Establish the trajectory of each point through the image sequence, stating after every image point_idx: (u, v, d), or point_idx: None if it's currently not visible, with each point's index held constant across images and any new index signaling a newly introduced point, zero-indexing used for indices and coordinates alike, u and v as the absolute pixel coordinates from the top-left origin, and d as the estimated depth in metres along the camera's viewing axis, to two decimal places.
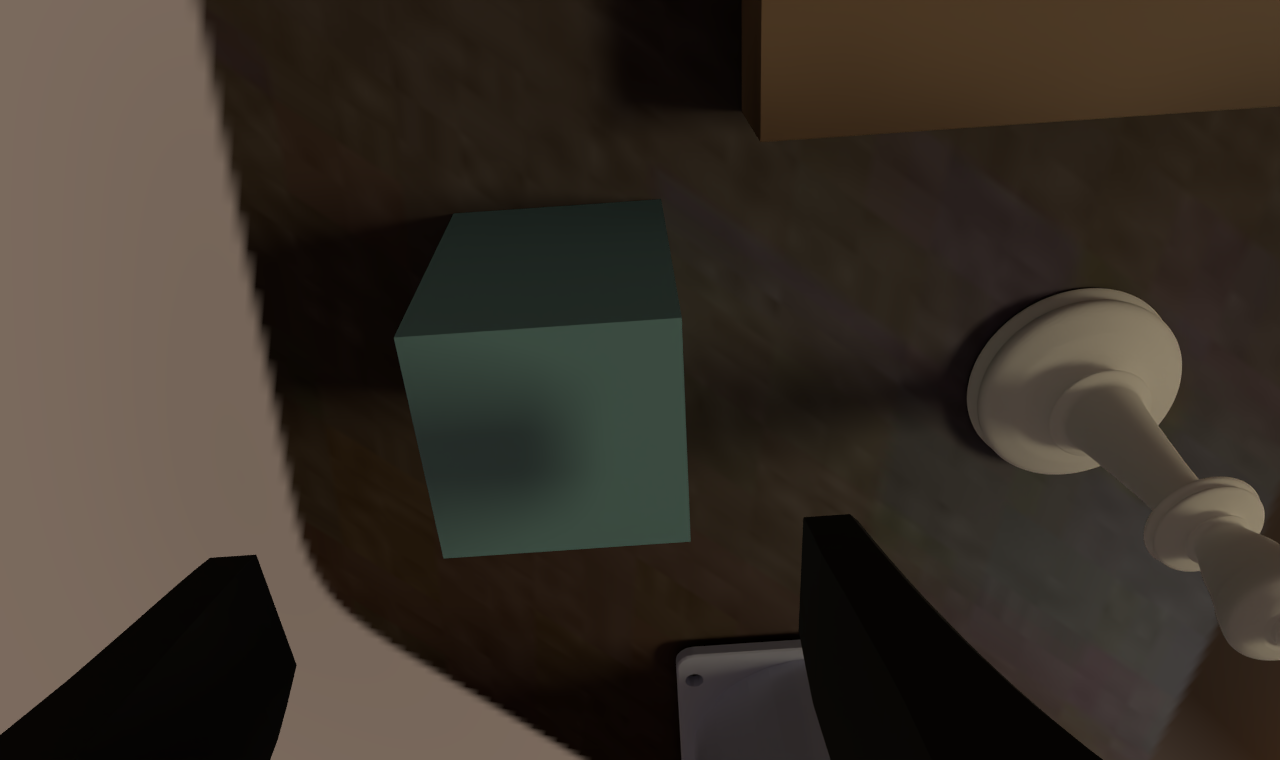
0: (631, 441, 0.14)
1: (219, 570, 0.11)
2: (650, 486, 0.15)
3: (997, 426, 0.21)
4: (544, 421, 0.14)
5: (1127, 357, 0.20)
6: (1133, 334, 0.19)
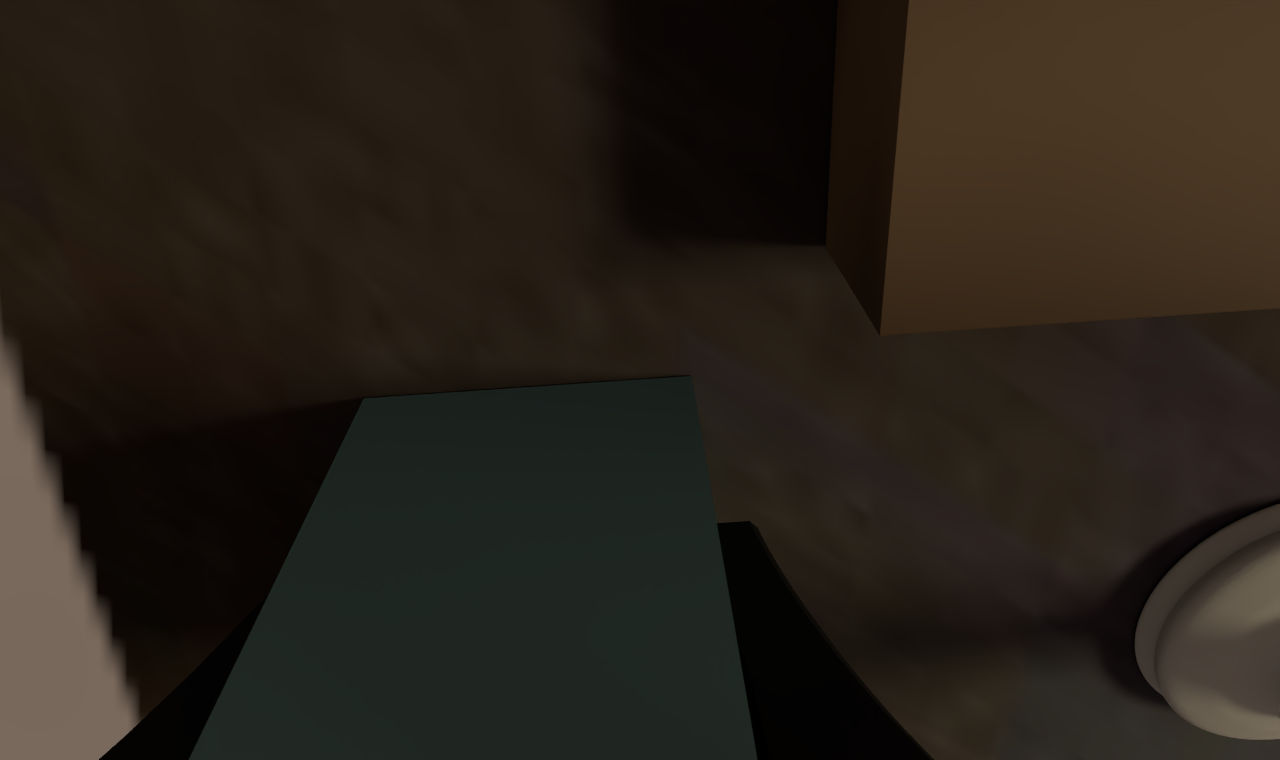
0: None
1: None
2: None
3: (1187, 686, 0.14)
4: None
5: None
6: None
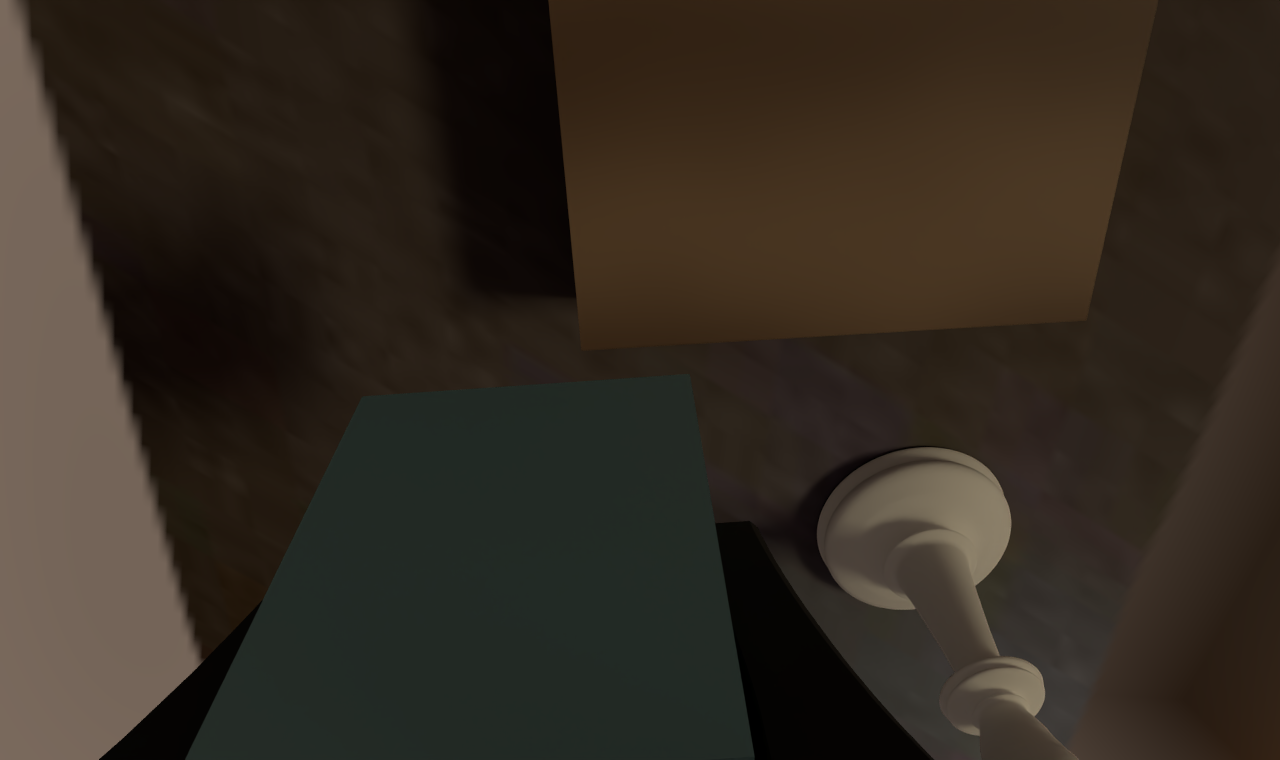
0: None
1: None
2: None
3: (842, 570, 0.22)
4: None
5: (954, 514, 0.21)
6: (959, 493, 0.21)
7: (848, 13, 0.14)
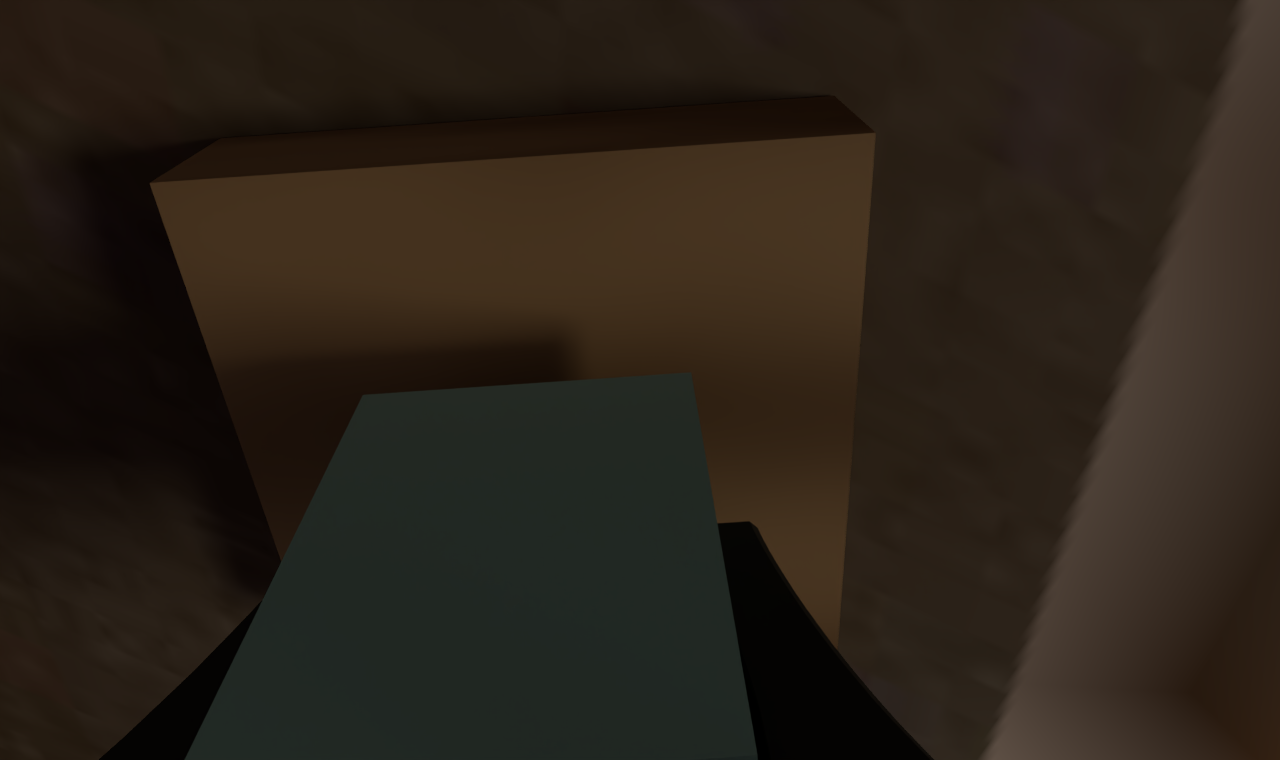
0: None
1: None
2: None
3: None
4: None
5: None
6: None
7: None
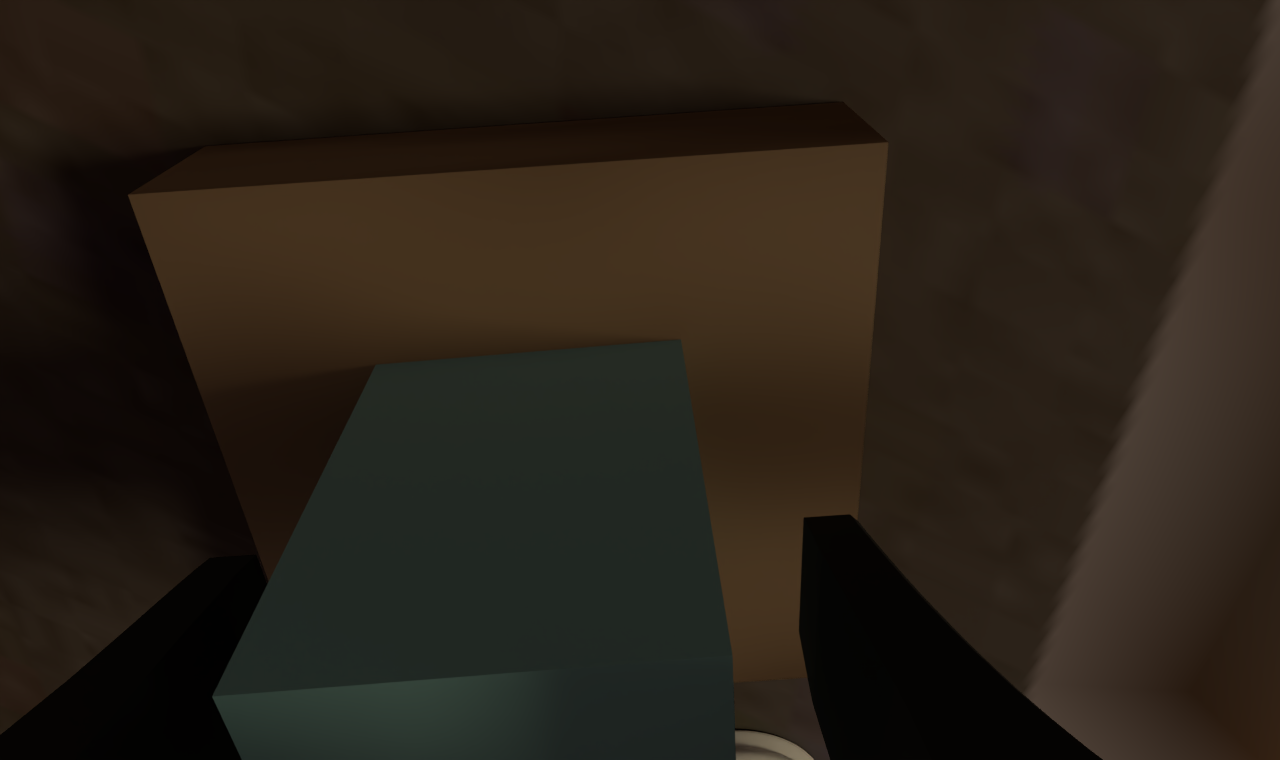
0: None
1: (219, 570, 0.11)
2: None
3: None
4: None
5: None
6: None
7: None
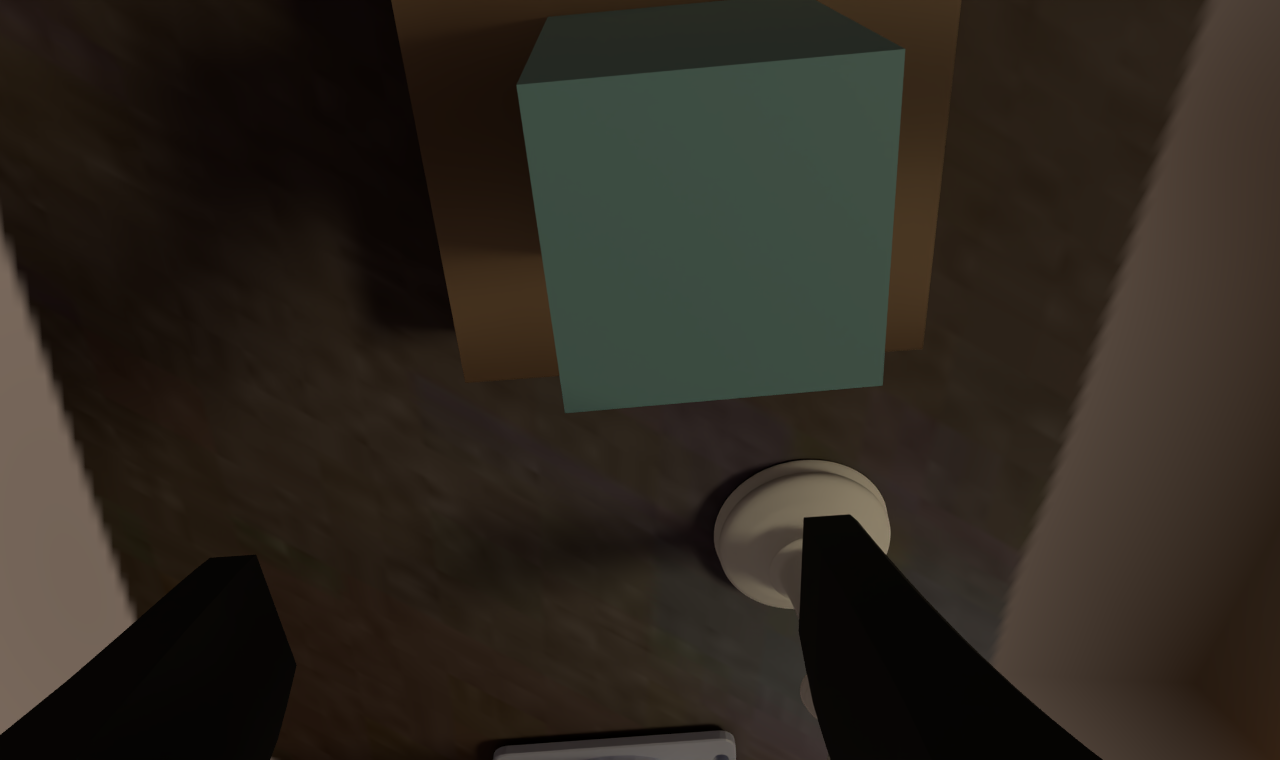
0: (819, 240, 0.11)
1: (219, 569, 0.11)
2: (839, 307, 0.12)
3: (735, 573, 0.24)
4: (708, 211, 0.11)
5: None
6: (837, 502, 0.23)
7: None
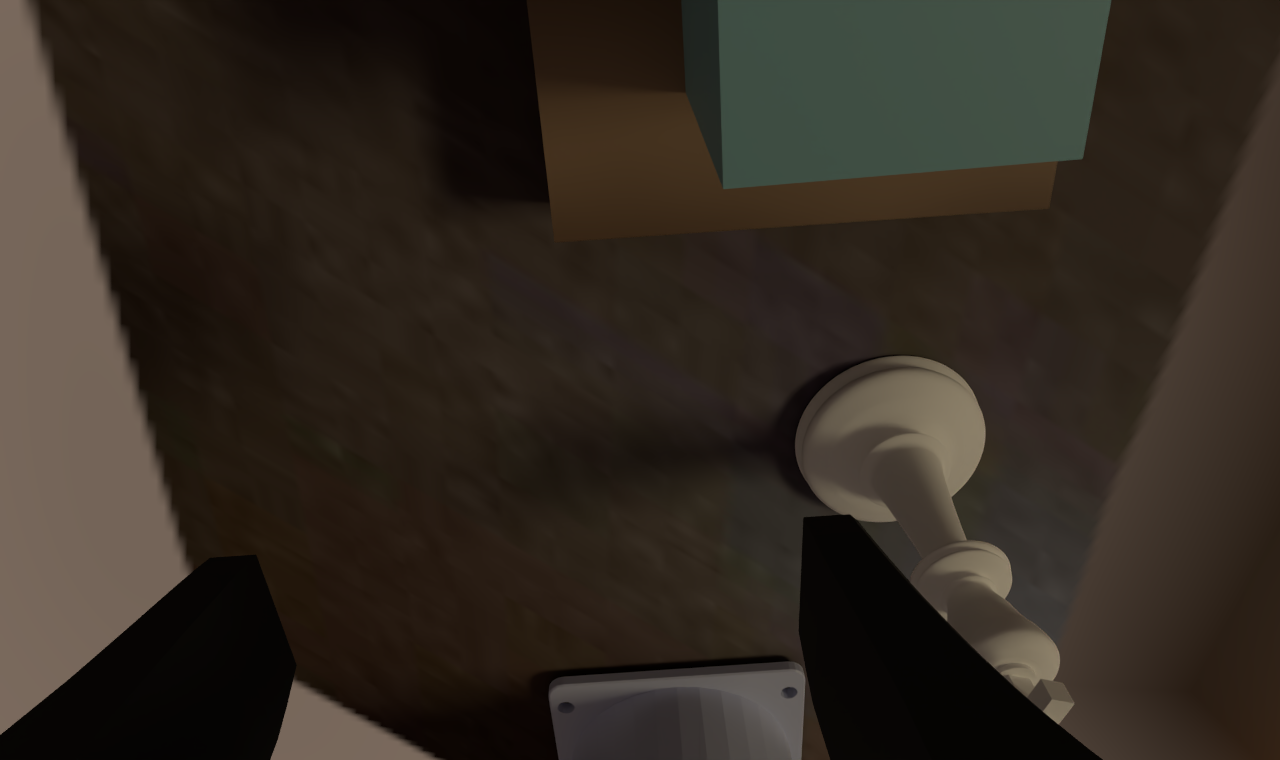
0: None
1: (219, 570, 0.11)
2: (1046, 55, 0.10)
3: (819, 480, 0.23)
4: None
5: (928, 420, 0.21)
6: (932, 398, 0.21)
7: None
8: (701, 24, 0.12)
